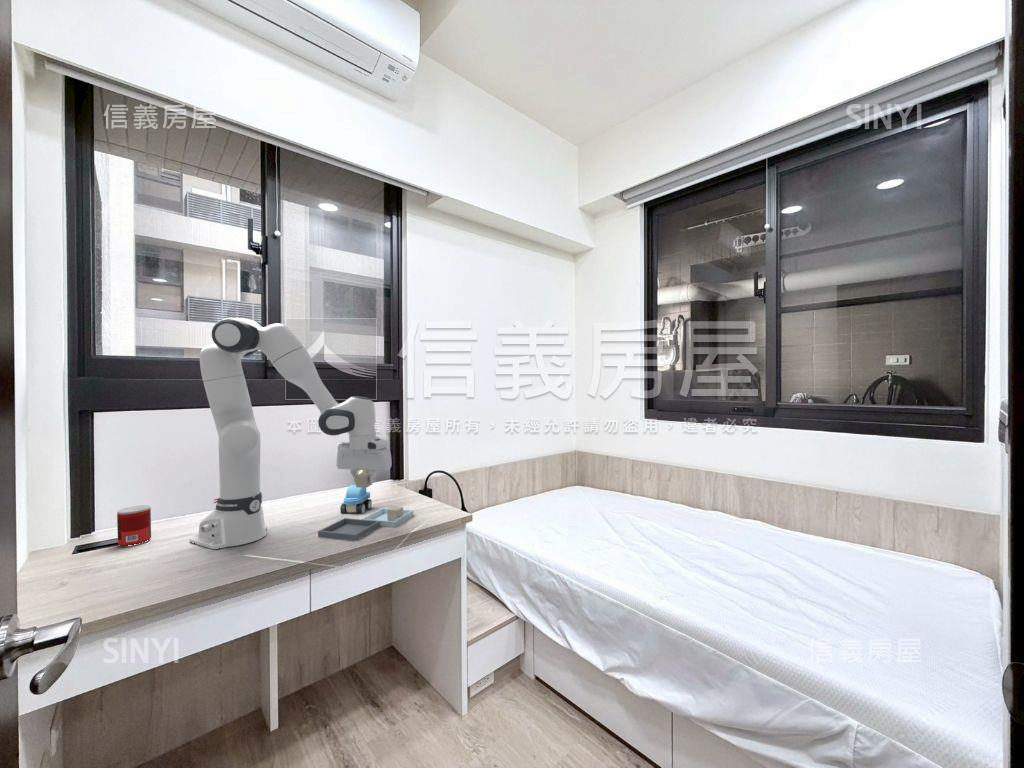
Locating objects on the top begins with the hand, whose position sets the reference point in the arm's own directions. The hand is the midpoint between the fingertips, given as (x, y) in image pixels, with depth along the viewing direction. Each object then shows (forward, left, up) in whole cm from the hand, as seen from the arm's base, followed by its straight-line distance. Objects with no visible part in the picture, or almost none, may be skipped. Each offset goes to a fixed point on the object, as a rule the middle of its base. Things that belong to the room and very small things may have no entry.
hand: (364, 482), depth 144 cm
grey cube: (+7, +8, -15) cm, 18 cm away
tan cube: (0, 0, -1) cm, 1 cm away
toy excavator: (-15, +17, -16) cm, 28 cm away
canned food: (-65, -30, -16) cm, 73 cm away
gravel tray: (-2, -6, -16) cm, 17 cm away
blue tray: (+4, +7, -16) cm, 18 cm away
